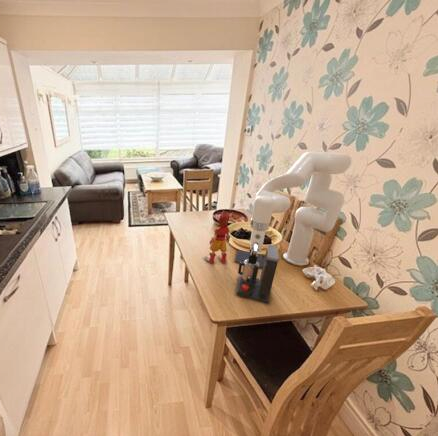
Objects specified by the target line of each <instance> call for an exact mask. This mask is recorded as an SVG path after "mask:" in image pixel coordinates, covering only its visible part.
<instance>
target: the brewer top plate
mask: <svg viewBox="0 0 438 436" xmlns="http://www.w3.org/2000/svg"><path fill="white" fill-rule="evenodd" d="M236 252H237V253H236V256H235V257H236V258H235V261H234V262H235V263H236V264H240V263H241V262H244V261H245V260H247V259H249V256H250V254H251V252H249V251H246V250H242V249H237V251H236ZM257 256H258V257H257V262H258V263H259V269H262V268H263V263H264V254H261V253H258V254H257Z"/></svg>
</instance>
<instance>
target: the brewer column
mask: <svg viewBox="0 0 438 436" xmlns="http://www.w3.org/2000/svg"><path fill="white" fill-rule="evenodd" d="M279 257H280V256H279V248H278V246H276V245H271V244H267V245H266V250H265V255H264V258H263V268H261V272H260V276H259V280H260V289H259V293H261V294H265V295H268V296H270V295H271V290H272V287H273V283H274V279H275V275H276V272H277V267H278V263H279V260H280V258H279ZM241 276H242V275H240V274H239V278H240V279H241V281H243V282H244V283H246V284H251V285H253V284H256V283H257V281H258V280H257V279H258V277H257V278H256V282H254V283H248V282H245V281H244V280H243V279H242V278H241Z"/></svg>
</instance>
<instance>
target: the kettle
mask: <svg viewBox="0 0 438 436" xmlns="http://www.w3.org/2000/svg"><path fill="white" fill-rule="evenodd" d="M248 260H249V259H247V260H245V261H244V262H241V263H238V268H237V269H238V270H237V274H238V275H239V276H240V275H242V276H241V278H242V279H243V280H244V281H245V282H248V283H254V282H256V278H257V279H258V274H259V269H260V268H259V263H258V262H257V261H256V264H252V263H248Z"/></svg>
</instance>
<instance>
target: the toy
mask: <svg viewBox="0 0 438 436" xmlns="http://www.w3.org/2000/svg"><path fill="white" fill-rule="evenodd" d="M213 217H214V218H215V219H216V220H217V223H218V225H219V227H218V228H217V229H216V228H215V230H214V235H213V237H212V236H211V239H210V240H209V250H210V251H211V252H209V255H207V256H206V257H205V258H204V259H205V260H206V261H207V262H208V263H210V264H214V263H215V258H216V256H217V254H216V252H218V251H220V255H219V260H220V261H221V262H222V264H226V261H227V260H226V258H227V253H226V252H227V249H228V248H227V244H228V243H229V242H230V239H231V235H230V228H229V226H228V224H229V220H230V215H228V214H227V213H226V211H225V210H224V209H223V210H222V211H221V213H220V214H218V213H215V214H214V215H213Z"/></svg>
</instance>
